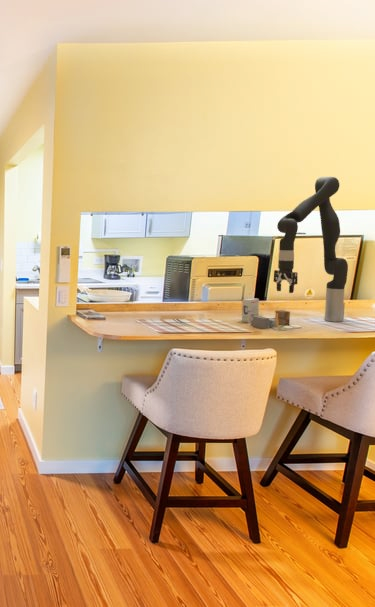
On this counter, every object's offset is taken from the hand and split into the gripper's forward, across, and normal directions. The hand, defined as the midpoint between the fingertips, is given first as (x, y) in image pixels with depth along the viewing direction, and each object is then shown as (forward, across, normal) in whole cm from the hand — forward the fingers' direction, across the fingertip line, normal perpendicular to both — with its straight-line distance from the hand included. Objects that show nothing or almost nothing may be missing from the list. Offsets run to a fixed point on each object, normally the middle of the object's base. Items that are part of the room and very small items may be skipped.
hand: (284, 291), depth 289 cm
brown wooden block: (+17, 0, +1) cm, 17 cm away
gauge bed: (+16, -2, +8) cm, 18 cm away
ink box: (+17, +15, +9) cm, 24 cm away
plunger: (+16, -3, +9) cm, 19 cm away
